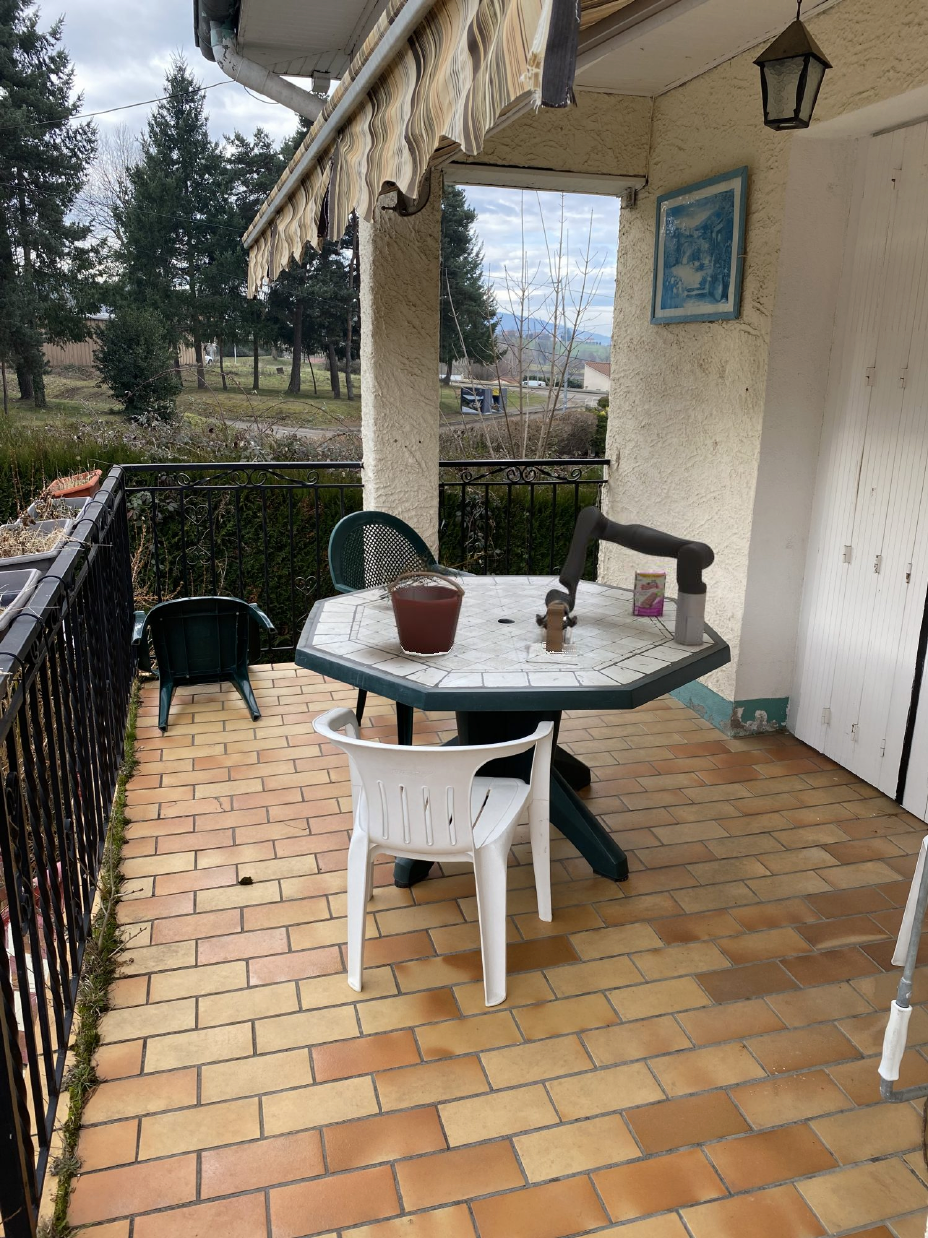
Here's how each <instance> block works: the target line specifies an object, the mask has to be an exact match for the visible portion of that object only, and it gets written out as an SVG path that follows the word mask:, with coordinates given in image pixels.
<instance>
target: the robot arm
mask: <svg viewBox="0 0 928 1238" xmlns="http://www.w3.org/2000/svg"><path fill="white" fill-rule="evenodd" d="M572 536H573V537H572V541H571V544H570V549H569V552H568V555H567V557H566V560H565V562H564V565H563V566H562V567H563V568H562V570H561V572H560V575H559V578H558V583H559V584H560V585H561V586H563V587H564V589H566V590H567V591H568V593H567V592H564V591H562V590H559V589H557V588H553V589H549V590H548V592H547V593H546V595H545V598H544V605H545V607H546V612H545V614H543V615H541V614H539V613H535V623H536V624H537V626H538V627H542V628H543V629H544V628H545V630H547V611H548V605H549V604H555V605H564V621H563V627H562V630H563V632H564V631H565V630H567V627H568V626H569V627H570V628H572V629H573V628H574V627H575V626H577V625H578V619H579V618H578V616H577V615H573V616H571V617H570V614H571V613H572V612H573V611H574V608H575V606H576V597H577V590H578V586H579V583H580V580H581V579H582V576H583V573H584V571H585V566H586V562H587V561H586V559H587V551H588V549H587V548H588V545H589V541H590V538H592V539H595V540H598V541H599V540H600V541H604V542H608V543H609V542H610V543H613V544H615V545H619V546H621V547H623V548H626V549H629V550H632V551H634V552H637V553H639V554H644V555H647V556H652V557H661V558H671V559H675V560H676V572H675V573H676V574H675V575H676V576H675V577H676V578H675V579H676V580H675V581H676V583H677V596H676V597H677V598H676V607H675V608H676V609H675V620H674V622H675V623H674V635H673V641H674V642H676V643H678V644H681V645H682V644H683V645H685V646H693V645H703V641H704V640H703V639H704V630H705V619H706V617H705V613H706V602H707V592H708V591H707V589H708V585H707V583H706V582H705V581H703V571H704V570H706V569H708V568H709V567H711V566H712V565H713V564H714V561H715V558H716V557H715V552H714V550H713V549H712V547H711V546H710V545H709V544H707V543H704V542H701V541H696V540H690V539H686V538H681V537H678V536H675V535H673V534H670V533H667V532H664V531H661V530H658V529H656V528H653V527H650V526H647V525H644V524H639V523H630V524H621V523H619V522H617V521H614V520H612V519H610V518H608V517H606V515H605V514H604V513H603V512H602V510H600V508H598V507H597V506H595V505H589V506H586V507H584V508H583V509H582V510H581V511H580V512H579V514H578V516H577V520H576V524H575V528H574V532H573V535H572Z"/></svg>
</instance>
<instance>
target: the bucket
mask: <svg viewBox="0 0 928 1238" xmlns="http://www.w3.org/2000/svg"><path fill="white" fill-rule="evenodd" d="M411 572H412V573H409V572H407V573H406V574H405V573H404V574H402V575H400V574H399V575H400V576H399V575H398V576H397V577H398V578H397V577H396V578H397V579H396V578H395V579H396V580H395V582H392V583H391V584H390V583H389V584H388V586H387V587H386V586H385V588H386V589H387V591H388V590H389V594H391V595H390V596H391V597H390V602H391V605H392V612H393V615H394V619H395V625H396V630H397V636H398V642H399V644H401V646H402V647H403V649H404V650H405V651H409V652H416V653H421V654H434V653H439V652H448V651H449V650H450V649H451V647H452V646H453V647H454V643H455V640H456V639H455V638H456V633H457V629H458V625H459V624H458V623H459V618H460V614H461V609H462V604H463V597H464V596H465V593H466V591H465V590H464V589H463V587H462V586H461V585H460V584H459V583H458V582H457V581H456V580H454V579H451V578H449V576H448V577H446V576H445V575H444V574H440V573H439V572H437V573H436V572H434V573H431V572H432V571H429V572H428V571H427V572H425V571H424V572H423V571H419V572H417V571H416V572H413V571H411ZM414 575H415V576H419V575H422V576H423V575H424V576H426V575H428V577H430V576H431V577H433V576H434V578H436V579H437V578H438V579H439V580H442V581H444V582H446V583H448V584H449V585H451V586H452V587H454V588H451V587H448V586H443V585H437V586H436V585H424V586H417V585H411V586H410V585H409V586H407V587H405V588H402V587H401V588H402V589H398V590H396V589H394V591H392V590H393V589H392V588H393V587H394V586H395V585H396V584H397V583H399V581H400V580H401V579H402V578H403V577H408V576H413V577H414ZM394 588H395V587H394ZM391 589H392V590H391ZM401 646H400V647H401ZM451 650H452V649H451Z"/></svg>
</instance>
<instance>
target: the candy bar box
mask: <svg viewBox="0 0 928 1238" xmlns="http://www.w3.org/2000/svg"><path fill="white" fill-rule="evenodd" d="M666 580H667V573H666V571H659V570H657V571H656V570H637V569H636V570H634V581H633V582H634V583H633V594H632V604H631V607H632V608H631V614H632V616H637V617H638V616H641V617H658V616H662V617H663V615H664V603H665V593H666V591H665V590H666V583H667V581H666Z"/></svg>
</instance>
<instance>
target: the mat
mask: <svg viewBox="0 0 928 1238" xmlns="http://www.w3.org/2000/svg"><path fill="white" fill-rule="evenodd" d="M543 644H546V643H543ZM564 645H567V646H564ZM575 645H576V646H575ZM577 645H578V644H570V645H569V644H565V643H563V647H562V649H563V650H566V651H562V652H564V653H550V654H561V655H562V654H565V655H579V656H563V657H572V658H573V657H579V658H580V652H579V651H573V650H581V645H580V646H577ZM543 649H546V648H543ZM569 650H570V651H569ZM571 650H572V651H571ZM548 652H550V651H548ZM551 652H552V651H551ZM554 652H560V651H554ZM565 652H566V653H565ZM567 652H568V653H567ZM578 652H579V653H578ZM546 654H547V653H546ZM568 662H571V661H568ZM572 662H573V661H572Z"/></svg>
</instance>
